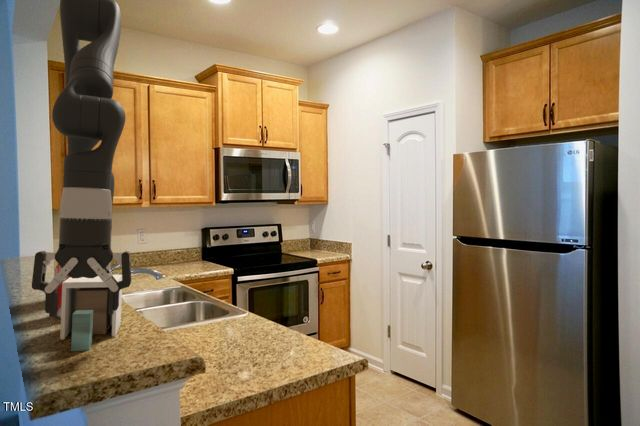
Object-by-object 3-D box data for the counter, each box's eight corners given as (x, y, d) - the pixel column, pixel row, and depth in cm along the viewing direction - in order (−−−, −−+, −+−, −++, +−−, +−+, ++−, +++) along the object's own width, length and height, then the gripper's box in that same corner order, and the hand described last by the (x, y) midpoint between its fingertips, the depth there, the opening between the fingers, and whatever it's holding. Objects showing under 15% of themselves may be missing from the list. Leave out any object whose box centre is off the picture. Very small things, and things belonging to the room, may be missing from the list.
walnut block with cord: (80, 327, 83) (82, 286, 83) (109, 326, 85) (110, 286, 85) (62, 351, 69) (64, 302, 69) (97, 349, 71) (99, 301, 71)
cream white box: (71, 326, 84) (73, 275, 84) (120, 324, 87) (122, 274, 87) (60, 339, 76) (62, 282, 76) (115, 336, 79) (117, 281, 79)
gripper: (134, 217, 77) (131, 308, 77) (43, 215, 73) (39, 311, 72) (131, 217, 70) (127, 317, 70) (29, 215, 66) (25, 322, 65)
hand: (82, 314), depth 71 cm, fingers open, 8 cm apart
